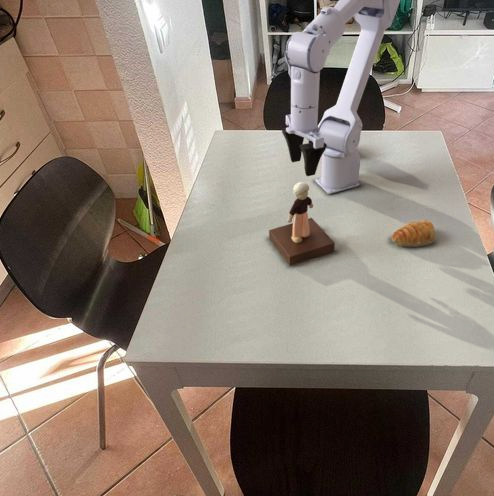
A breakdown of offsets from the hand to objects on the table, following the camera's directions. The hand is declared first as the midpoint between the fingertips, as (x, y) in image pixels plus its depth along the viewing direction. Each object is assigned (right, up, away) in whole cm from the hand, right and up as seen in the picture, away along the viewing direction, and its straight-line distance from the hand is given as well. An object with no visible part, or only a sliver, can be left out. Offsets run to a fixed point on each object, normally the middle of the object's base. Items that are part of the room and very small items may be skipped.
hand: (302, 167), depth 99 cm
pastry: (+26, -17, -1) cm, 31 cm away
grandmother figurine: (0, -17, -4) cm, 17 cm away
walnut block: (0, -19, -2) cm, 19 cm away
